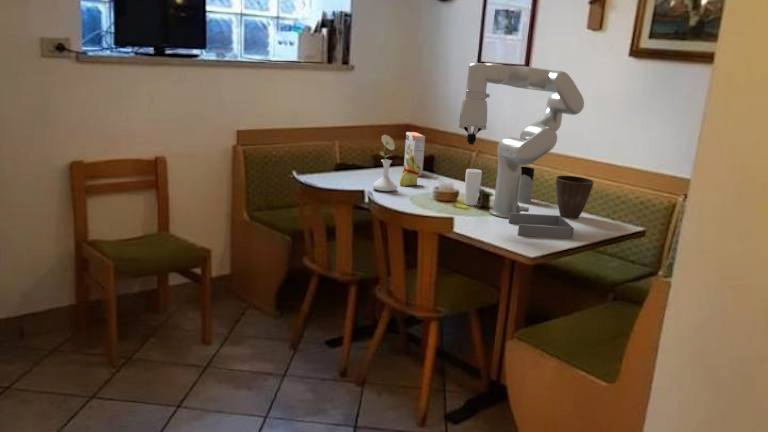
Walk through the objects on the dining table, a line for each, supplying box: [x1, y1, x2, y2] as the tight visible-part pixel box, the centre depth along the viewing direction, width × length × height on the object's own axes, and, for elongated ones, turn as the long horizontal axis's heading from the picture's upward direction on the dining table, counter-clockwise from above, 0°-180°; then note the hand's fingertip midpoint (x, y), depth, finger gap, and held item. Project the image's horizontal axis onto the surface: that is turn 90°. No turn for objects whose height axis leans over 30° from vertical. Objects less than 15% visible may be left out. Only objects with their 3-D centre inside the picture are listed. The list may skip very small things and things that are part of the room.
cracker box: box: [403, 131, 426, 177], centre depth 344 cm, size 14×6×21 cm, turn 17°
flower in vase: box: [372, 134, 398, 192], centre depth 300 cm, size 13×11×25 cm
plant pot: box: [555, 175, 594, 220], centre depth 274 cm, size 15×15×16 cm
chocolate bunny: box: [399, 154, 420, 187], centre depth 316 cm, size 7×11×15 cm, turn 124°
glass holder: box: [518, 166, 535, 204], centre depth 301 cm, size 9×14×15 cm, turn 163°
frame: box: [508, 212, 575, 239], centre depth 251 cm, size 20×18×4 cm
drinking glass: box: [464, 168, 483, 207], centre depth 284 cm, size 7×7×15 cm
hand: (470, 144), depth 257 cm, fingers closed
